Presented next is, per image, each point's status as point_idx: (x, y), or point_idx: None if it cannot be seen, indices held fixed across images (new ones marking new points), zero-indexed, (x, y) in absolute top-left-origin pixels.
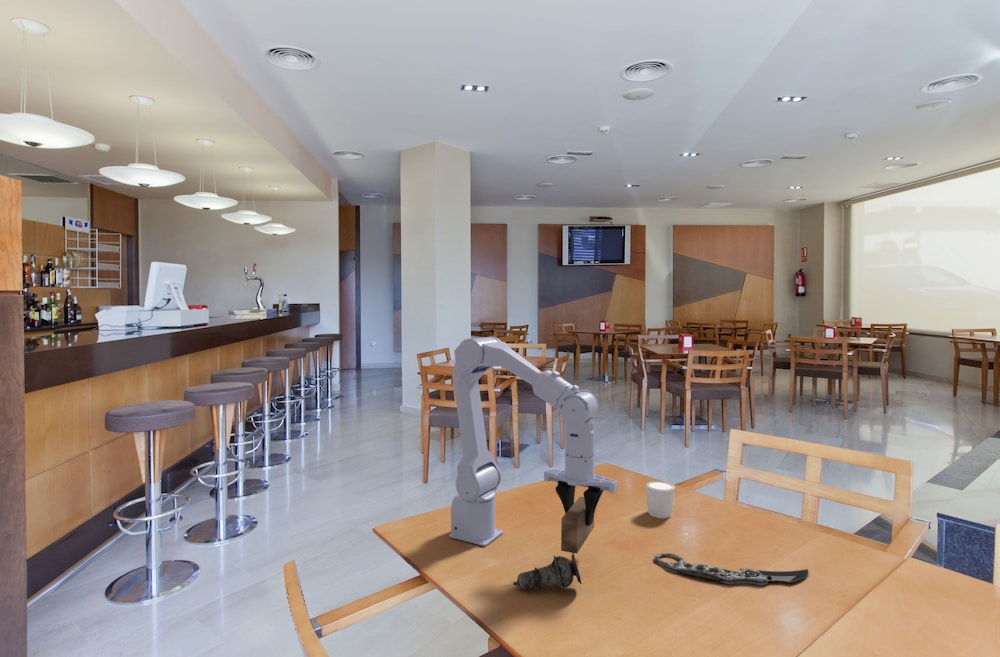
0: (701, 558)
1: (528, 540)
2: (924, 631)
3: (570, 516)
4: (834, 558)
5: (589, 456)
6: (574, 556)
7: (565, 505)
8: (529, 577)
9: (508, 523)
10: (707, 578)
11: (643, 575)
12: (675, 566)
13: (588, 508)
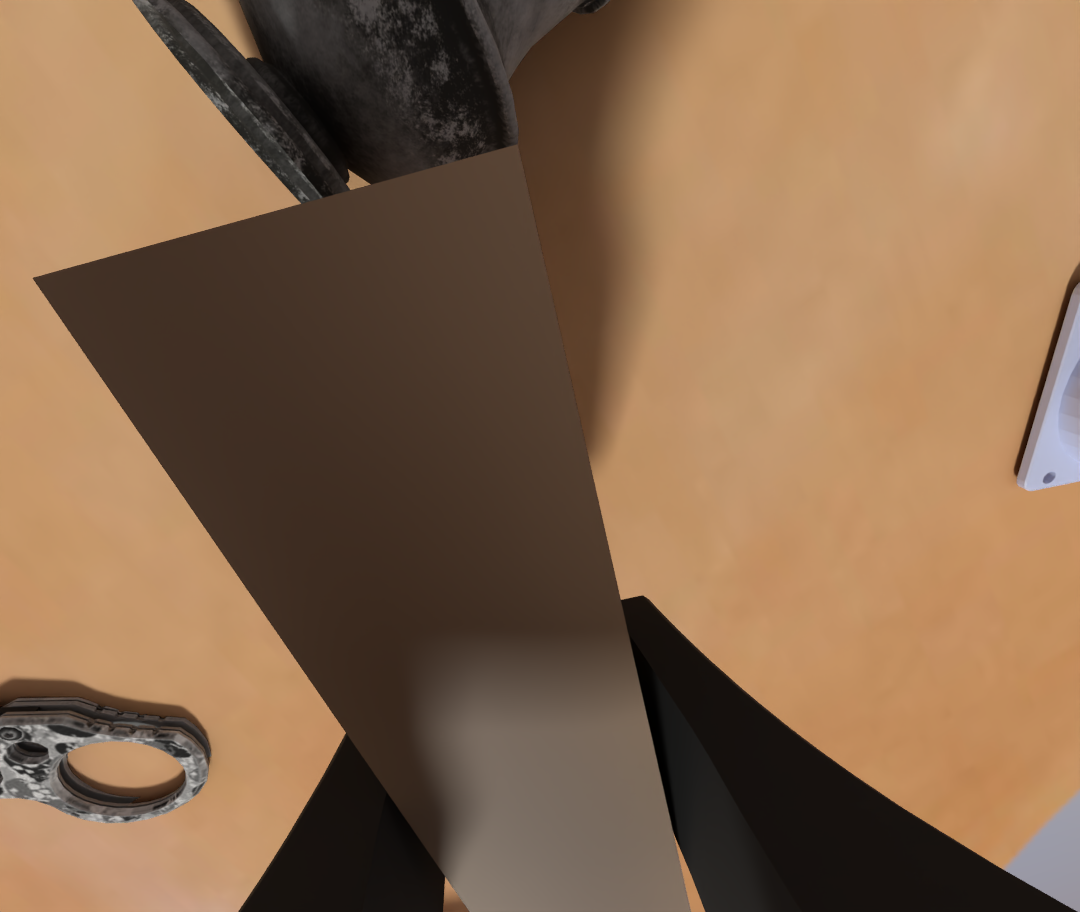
0: (43, 863)
1: (857, 503)
2: None
3: (416, 436)
4: None
5: None
6: (203, 56)
7: (747, 742)
8: None
9: (1009, 580)
10: None
11: (122, 579)
12: (13, 735)
13: (312, 876)
